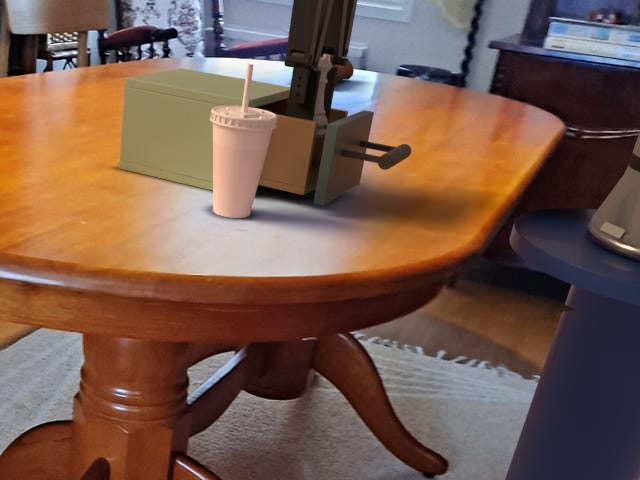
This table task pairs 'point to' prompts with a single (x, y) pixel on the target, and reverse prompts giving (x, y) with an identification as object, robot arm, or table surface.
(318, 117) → the rook chess piece
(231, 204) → the smoothie
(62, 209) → the table surface
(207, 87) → the cabinet
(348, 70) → the sunglasses case
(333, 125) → the drawer
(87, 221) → the table surface
